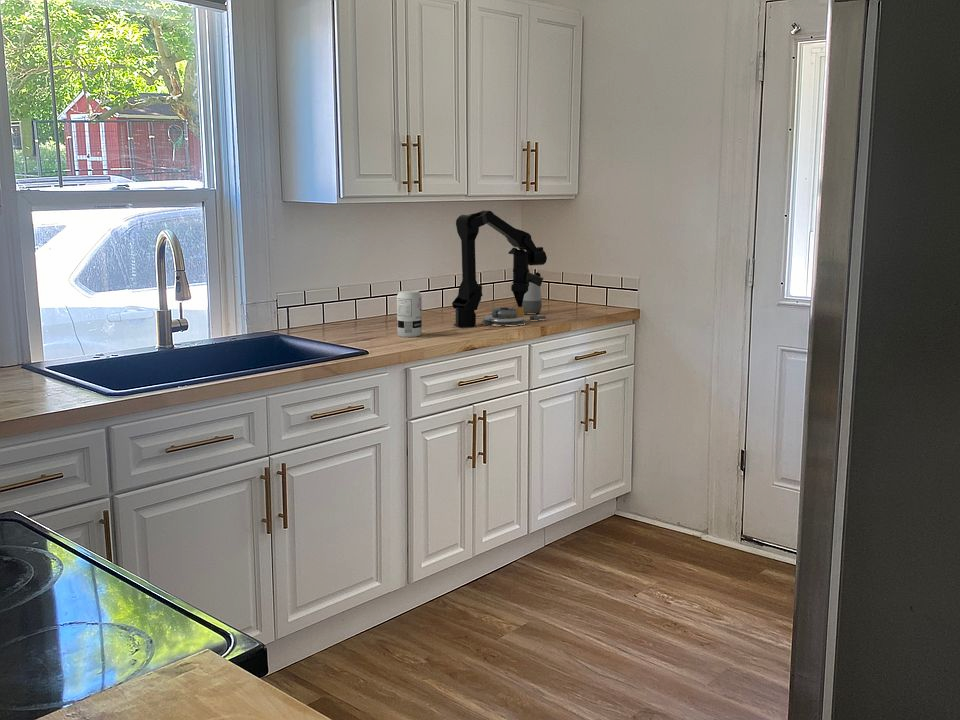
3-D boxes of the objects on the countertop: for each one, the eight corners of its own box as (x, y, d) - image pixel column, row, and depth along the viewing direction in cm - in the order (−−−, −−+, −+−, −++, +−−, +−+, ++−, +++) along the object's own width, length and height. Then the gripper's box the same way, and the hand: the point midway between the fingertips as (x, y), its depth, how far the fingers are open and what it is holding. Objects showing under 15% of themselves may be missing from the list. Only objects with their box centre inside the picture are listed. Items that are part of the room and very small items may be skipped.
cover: (496, 319, 346) (497, 309, 345) (488, 315, 354) (488, 306, 353) (520, 318, 348) (520, 308, 348) (511, 314, 357) (511, 305, 356)
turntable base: (491, 327, 342) (491, 324, 342) (476, 321, 357) (476, 318, 356) (532, 325, 347) (532, 322, 347) (515, 319, 362) (515, 317, 362)
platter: (492, 323, 342) (492, 310, 341) (477, 318, 356) (478, 305, 355) (530, 322, 347) (530, 309, 346) (515, 316, 361) (515, 304, 360)
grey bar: (534, 321, 357) (534, 316, 357) (529, 321, 359) (529, 315, 359) (545, 320, 361) (545, 315, 361) (541, 319, 363) (541, 314, 362)
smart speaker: (519, 311, 384) (520, 277, 382) (542, 312, 383) (543, 277, 381) (516, 315, 375) (517, 279, 373) (540, 315, 374) (540, 280, 371)
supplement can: (394, 334, 325) (394, 290, 323) (417, 333, 328) (417, 289, 325) (401, 338, 318) (400, 293, 315) (424, 336, 321) (424, 292, 318)
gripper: (542, 268, 346) (541, 311, 349) (542, 264, 364) (541, 305, 367) (511, 268, 346) (510, 310, 349) (513, 263, 365) (512, 304, 368)
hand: (520, 307), depth 358 cm, fingers closed
